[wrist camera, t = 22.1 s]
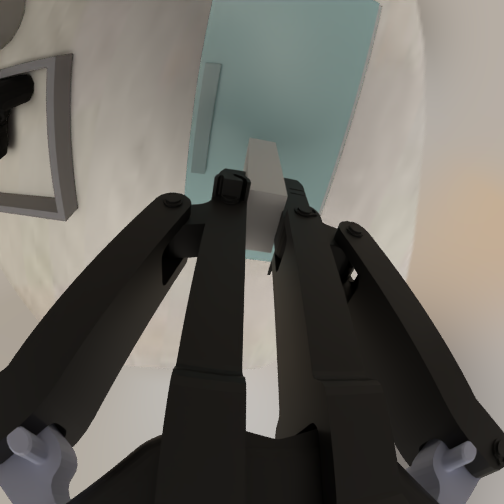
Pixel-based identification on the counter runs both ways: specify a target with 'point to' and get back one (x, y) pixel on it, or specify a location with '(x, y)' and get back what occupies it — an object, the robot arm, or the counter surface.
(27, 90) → the film camera
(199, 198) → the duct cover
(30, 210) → the camera corral
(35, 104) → the counter surface
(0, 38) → the cup
